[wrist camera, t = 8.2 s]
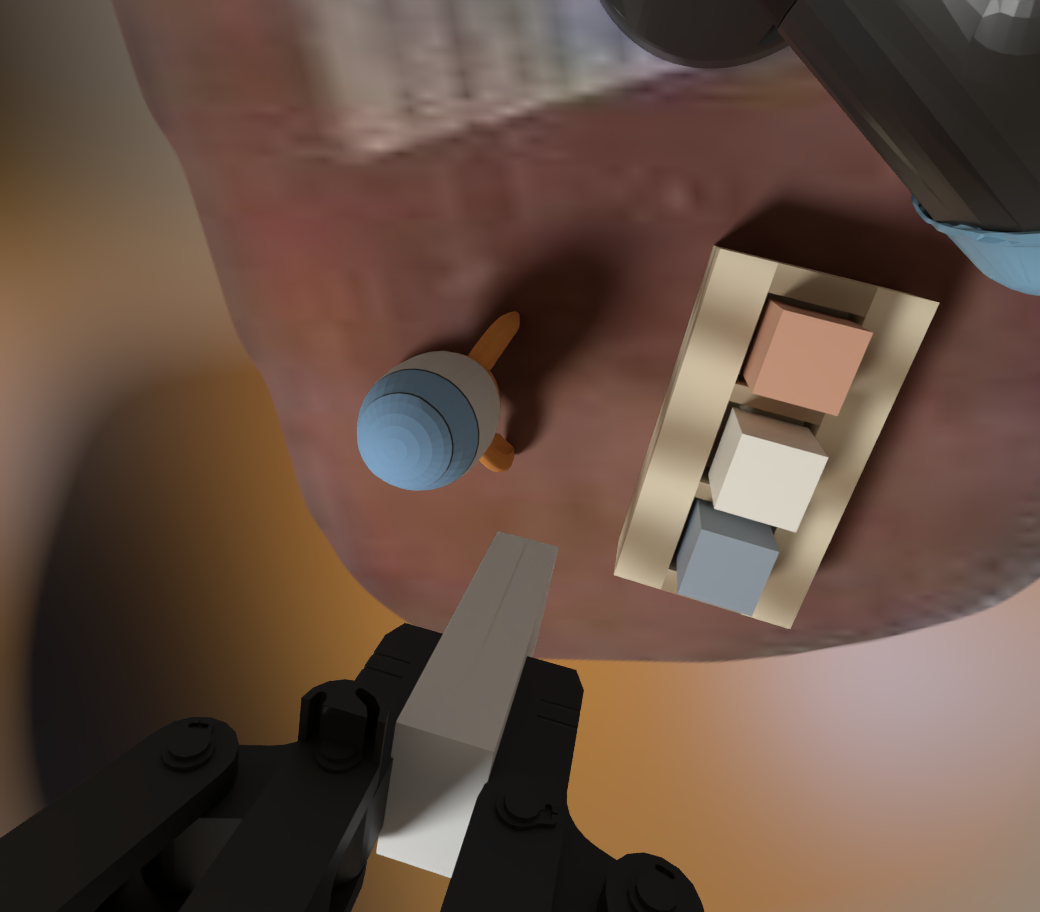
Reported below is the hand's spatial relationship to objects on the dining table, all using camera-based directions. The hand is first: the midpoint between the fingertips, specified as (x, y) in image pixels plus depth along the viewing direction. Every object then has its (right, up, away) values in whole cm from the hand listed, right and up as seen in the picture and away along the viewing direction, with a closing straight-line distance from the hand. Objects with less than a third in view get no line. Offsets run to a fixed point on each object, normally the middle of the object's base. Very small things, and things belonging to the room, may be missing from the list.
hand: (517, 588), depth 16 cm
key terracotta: (+15, +9, +21) cm, 27 cm away
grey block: (+12, -2, +25) cm, 28 cm away
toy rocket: (-4, +9, +29) cm, 30 cm away
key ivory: (+13, +3, +22) cm, 26 cm away
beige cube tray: (+14, +5, +26) cm, 30 cm away
